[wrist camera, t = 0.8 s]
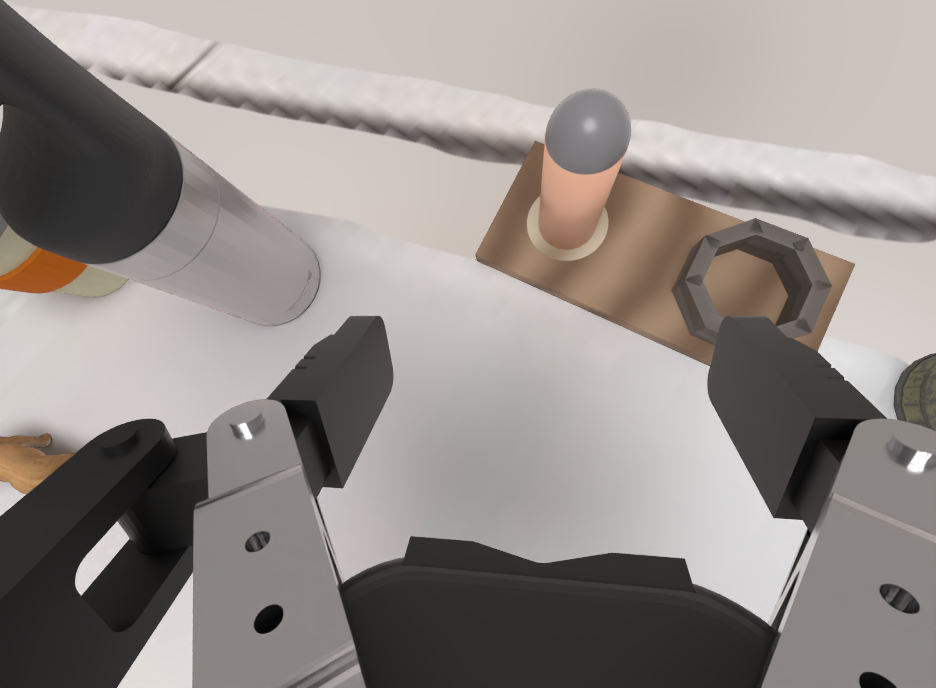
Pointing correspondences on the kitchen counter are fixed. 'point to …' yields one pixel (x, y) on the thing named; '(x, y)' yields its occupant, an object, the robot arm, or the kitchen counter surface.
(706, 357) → the jig
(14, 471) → the lion figurine
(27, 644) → the robot arm
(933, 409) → the thermos
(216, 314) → the kitchen counter surface
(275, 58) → the kitchen counter surface
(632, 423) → the kitchen counter surface
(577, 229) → the round-topped orange cylinder
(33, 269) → the reusable coffee cup
